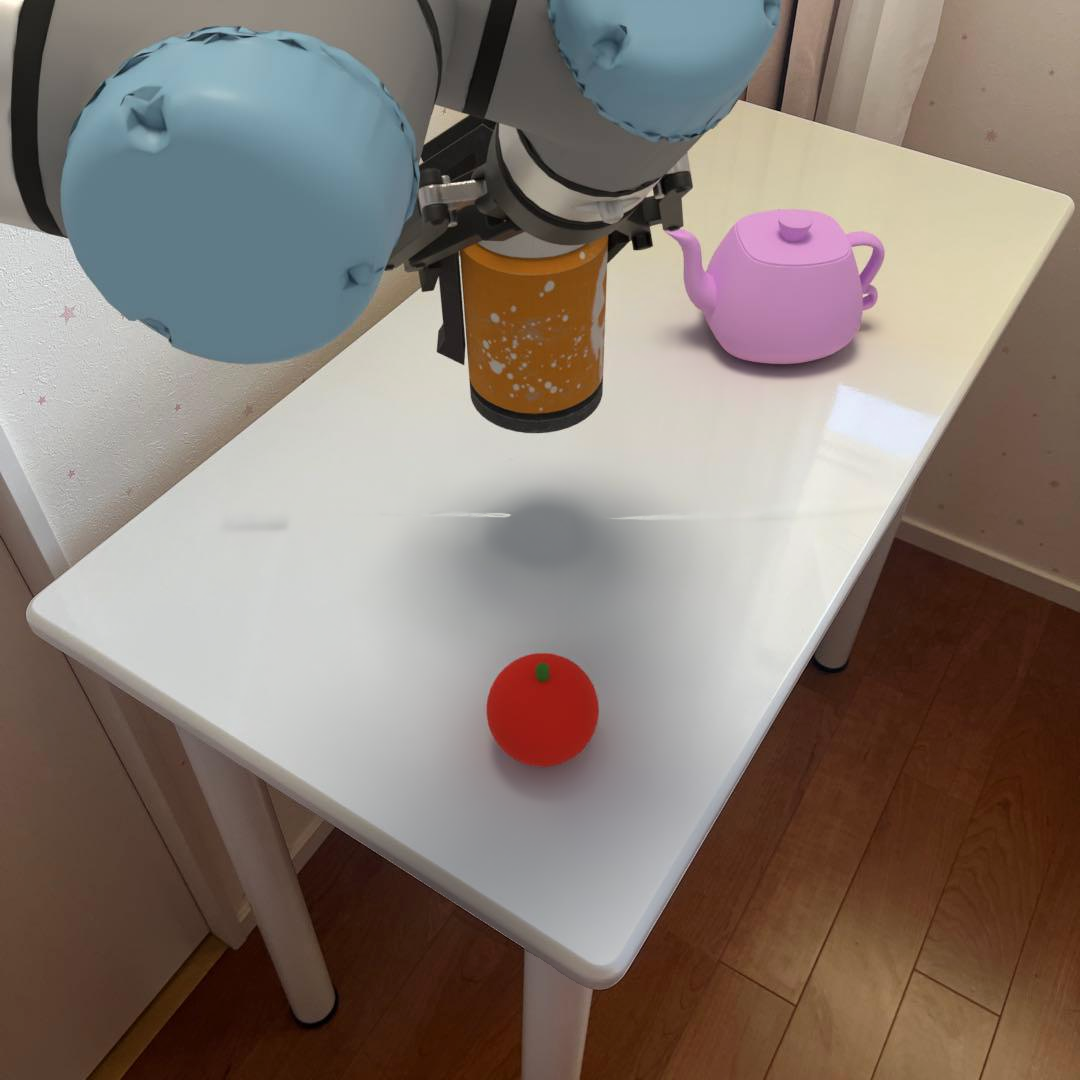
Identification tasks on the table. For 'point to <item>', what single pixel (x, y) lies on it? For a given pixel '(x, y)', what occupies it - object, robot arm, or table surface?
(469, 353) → the canister
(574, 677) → the tomato
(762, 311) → the teapot
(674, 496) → the table surface
